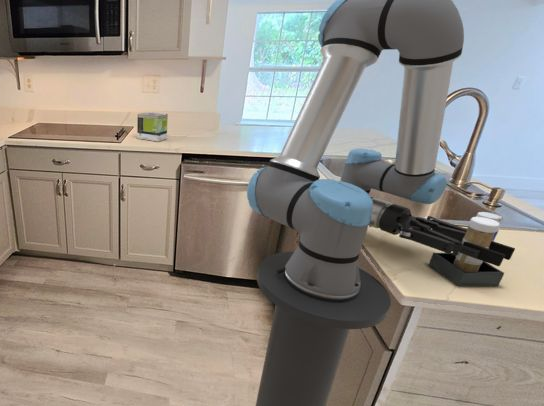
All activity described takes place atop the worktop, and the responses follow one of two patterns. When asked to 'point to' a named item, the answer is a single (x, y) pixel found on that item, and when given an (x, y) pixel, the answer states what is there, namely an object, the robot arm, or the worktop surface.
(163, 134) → the tea box
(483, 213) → the pill bottle
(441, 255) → the dark gray tray
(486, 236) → the sprinkles bottle
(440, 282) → the worktop surface
